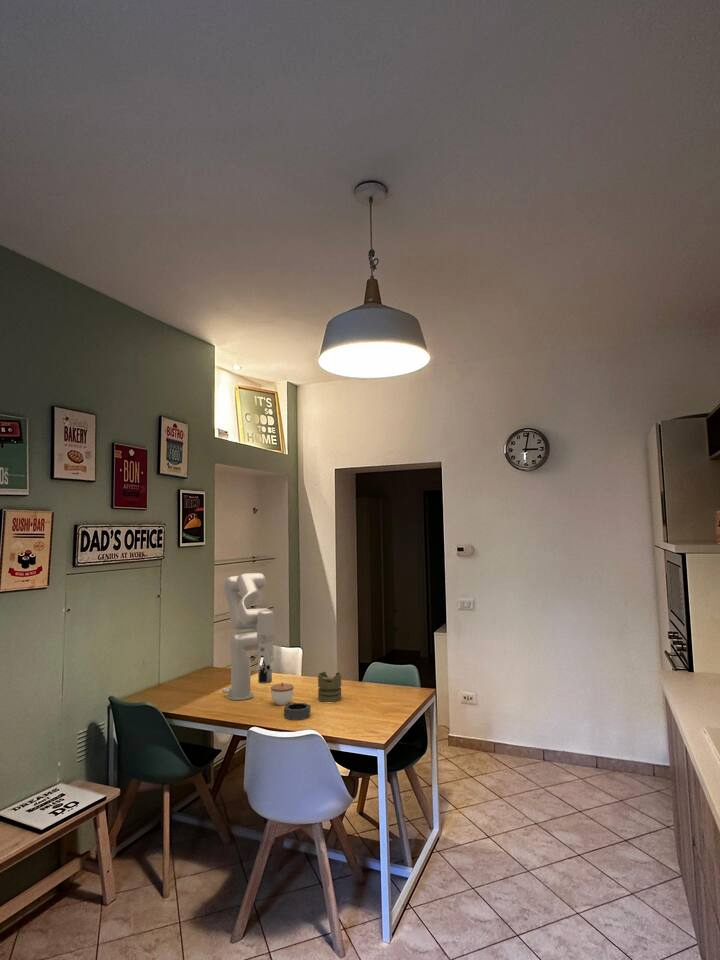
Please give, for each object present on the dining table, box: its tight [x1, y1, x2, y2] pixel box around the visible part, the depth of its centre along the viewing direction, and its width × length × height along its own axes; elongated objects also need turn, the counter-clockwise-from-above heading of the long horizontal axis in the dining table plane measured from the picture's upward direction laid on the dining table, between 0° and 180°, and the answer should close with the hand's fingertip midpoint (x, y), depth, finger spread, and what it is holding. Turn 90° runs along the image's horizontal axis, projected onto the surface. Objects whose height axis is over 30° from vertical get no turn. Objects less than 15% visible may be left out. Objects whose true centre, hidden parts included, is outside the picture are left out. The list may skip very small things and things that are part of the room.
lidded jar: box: [270, 682, 294, 706], centre depth 263 cm, size 11×11×9 cm
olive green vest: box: [317, 671, 342, 703], centre depth 268 cm, size 11×12×11 cm
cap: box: [257, 668, 273, 685], centre depth 246 cm, size 6×6×5 cm
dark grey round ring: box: [283, 702, 312, 721], centre depth 243 cm, size 11×11×4 cm
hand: (265, 679), depth 246 cm, fingers closed on cap, 5 cm apart
